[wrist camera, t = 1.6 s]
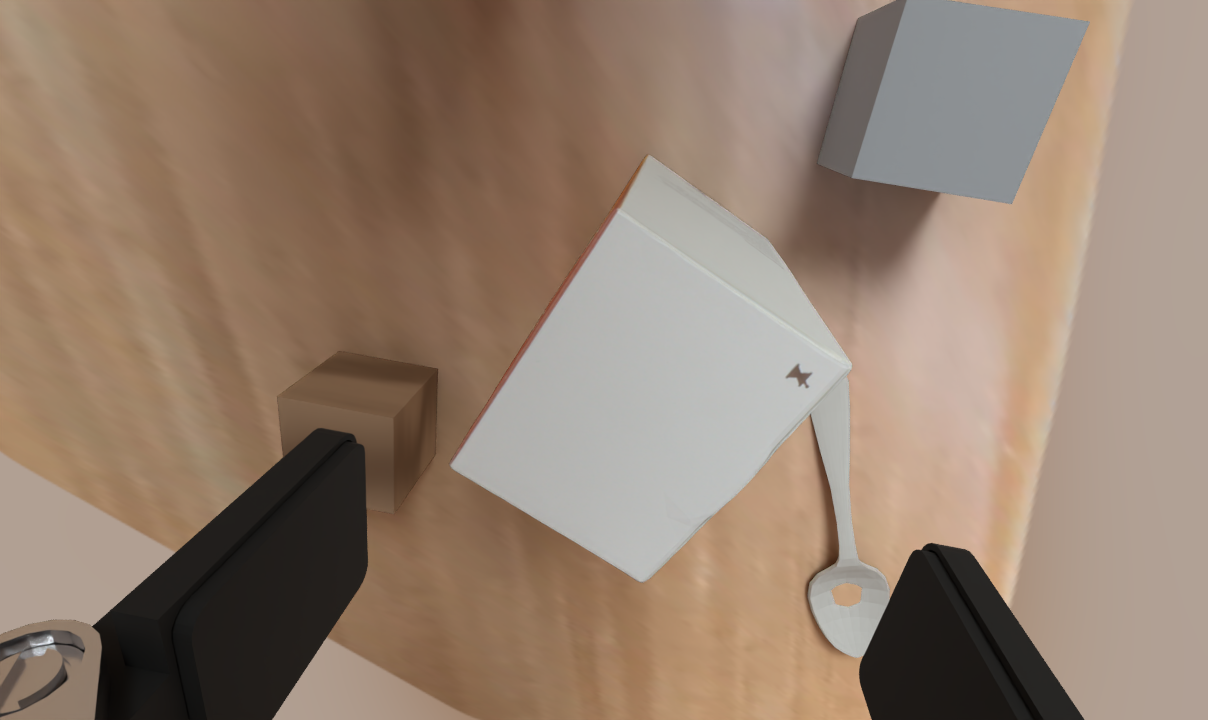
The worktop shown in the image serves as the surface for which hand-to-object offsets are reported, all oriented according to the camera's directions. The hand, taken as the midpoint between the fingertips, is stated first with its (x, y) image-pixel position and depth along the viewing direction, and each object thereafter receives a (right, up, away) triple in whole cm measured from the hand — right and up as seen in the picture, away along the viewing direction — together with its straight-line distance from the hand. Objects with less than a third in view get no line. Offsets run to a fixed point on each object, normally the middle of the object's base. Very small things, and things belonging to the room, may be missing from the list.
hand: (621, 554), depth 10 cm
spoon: (+11, -3, +19) cm, 23 cm away
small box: (+2, +7, +16) cm, 17 cm away
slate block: (+11, +13, +12) cm, 21 cm away
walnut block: (-11, +1, +20) cm, 23 cm away
